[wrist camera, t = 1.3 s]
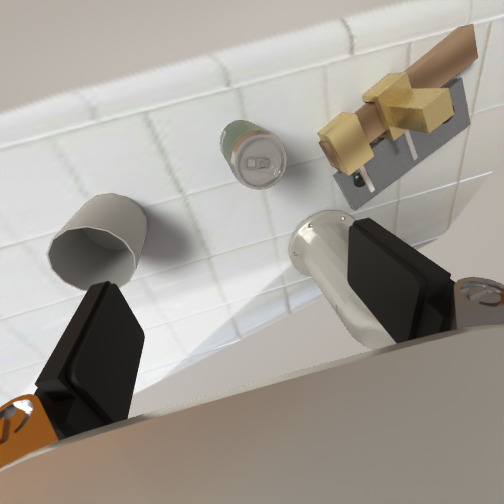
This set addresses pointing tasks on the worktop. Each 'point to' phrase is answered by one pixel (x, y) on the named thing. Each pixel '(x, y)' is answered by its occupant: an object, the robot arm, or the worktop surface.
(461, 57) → the rail
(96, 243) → the cup
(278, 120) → the worktop surface
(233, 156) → the green soda can
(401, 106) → the slider head
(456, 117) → the hole plate
